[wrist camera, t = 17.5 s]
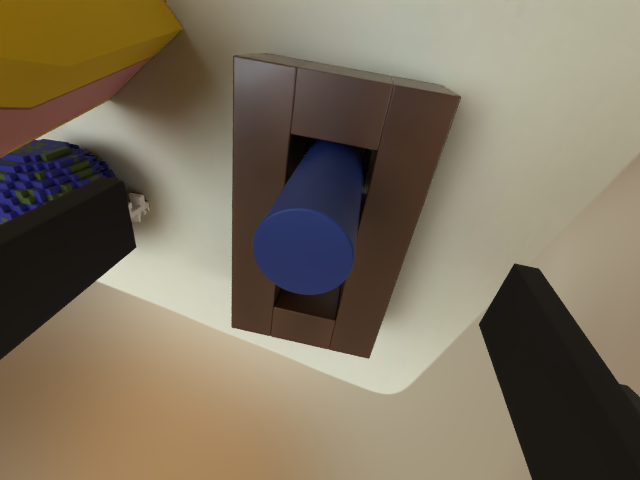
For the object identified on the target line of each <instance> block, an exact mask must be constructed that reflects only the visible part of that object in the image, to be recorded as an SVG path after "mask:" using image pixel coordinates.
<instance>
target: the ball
mask: <svg viewBox="0 0 640 480" xmlns="http://www.w3.org/2000/svg"><path fill="white" fill-rule="evenodd" d="M102 176H104V177H109V178H113V179H118V178H116V177H115V175H114V173H113V171H112V170H109V168H108V164H107V163H106V162H102V161H101V159H97V158H96V156H94V155H91V153H90V152H87V151H85V149H80V147H79V145H73V144H69V143H67V142H60V141H53V140H46V139H42V140H33V141H31V142H29V143H27V144H25V145H23V146H22V147H20V148H18V149H16V150H14V151H12V152H10V153H8V154H7V155H5V156H3V157H1V158H0V225H1V224H3V223H5V222H7V221H9V220H11V219H13V218H16V217H18V216H20V215H22V214H24V213H26V212H28V211H30V210H32V209H35V208H37V207H39V206H41V205H43V204H45V203H47V202H49V201H51V200H54V199H56V198H58V197H60V196H62V195H64V194H66V193H68V192H70V191H73V190H75V189H77V188H79V187H81V186H83V185H85V184H87V183H89V182H92V181H94V180H96V179H98V178H100V177H102ZM118 180H119V179H118ZM129 197H130V201H131V203H130V202H128V206H129V212H130V217H131V221H134V222H141V219H140V217H141V214H146V211H149V210H150V208H149V203H148V202H147V201H145V199H144V195H141V194H135V193H129ZM132 207H134V208H133V209H131V208H132Z"/></svg>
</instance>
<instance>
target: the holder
mask: <svg viewBox="0 0 640 480" xmlns="http://www.w3.org/2000/svg"><path fill="white" fill-rule="evenodd" d="M460 99H461V97H460V96H459V95H457V94H455V93H454V92H452V91H450V90H449V89H447V88H445V87H444V86H442V85H439V84H433V83H427V82H422V81H416V80H411V79H405V78H400V77H394V76H389V75H383V74H378V73H372V72H367V71H361V70H356V69H350V68H345V67H339V66H333V65H328V64H322V63H317V62H315V63H314V62H311V61H306V60H300V59H295V58H289V57H283V56H278V55H272V54H267V53H264V54H249V55H235V56H234V57H233V192H232V328H237V329H241V330H245V331H250V332H254V333H259V334H263V335H267V336H270V335H271V336H272V337H276V338H281V339H285V340H289V341H294V342H298V343H303V344H307V345H311V346H316V347H320V348H325V349H329V350H333V351H337V352H342V353H346V354H351V355H355V356H359V357H364V358H370V355H371V352H372V349H373V346H374V343H375V341H376V338H377V335H378V332H379V329H380V326H381V324H382V321H383V318H384V315H385V312H386V309H387V307H388V304H389V301H390V298H391V295H392V292H393V289H394V287H395V284H396V281H397V278H398V275H399V272H400V270H401V267H402V264H403V261H404V258H405V255H406V253H407V250H408V247H409V244H410V241H411V238H412V235H413V233H414V230H415V227H416V224H417V221H418V218H419V216H420V213H421V210H422V207H423V204H424V201H425V199H426V196H427V193H428V190H429V187H430V184H431V181H432V179H433V176H434V173H435V170H436V167H437V164H438V162H439V159H440V156H441V153H442V150H443V147H444V145H445V142H446V139H447V136H448V133H449V130H450V128H451V125H452V122H453V119H454V116H455V113H456V110H457V108H458V105H459V102H460ZM306 137H309V138H314V139H320V140H325V141H330V142H335V143H340V144H346V145H351V146H356V147H361V148H366V149H371V150H373V151H372V155H371V159H370V163H369V168H368V172H367V176H366V180H365V185H364V189H363V193H362V194H361V203H360V212H359V221H358V230H357V239H356V249H355V258H354V264H353V267H352V270H351V272H350V274H349V276H348V277H347V278H346V280H345V281H344V282H343V283H341V284H340V285H339V286H338V287H336V288H334V289H333V290H330V291H328V292H325V293H321V294H315V295H304V294H297V293H293V292H290V291H287V290H285V289H283V288H281V287H279V286H277V285H276V284H274V283H273V282H272V281H270V280H269V279H268V278H267V277H266V276H265V275H264V274H263V272H262V271H261V270H260V268H259V267H258V265H257V263H256V260H255V257H254V253H253V237H254V234H255V231H256V229H257V227H258V225H259V224H260V222H261V221H262V219H263V218H264V216H265V215H266V213H267V212H268V210H269V209H270V207H271V206H272V204H273V203H274V201H275V200H276V198H277V197H278V195H279V194H280V192H281V191H282V189H283V188H284V186H285V185H286V183H287V182H288V180H289V179H290V177H291V176H292V174H293V173H294V171H295V170H296V168H297V167H298V165H299V164H300V162H301V161H302V159H303V154H304V146H305V138H306Z"/></svg>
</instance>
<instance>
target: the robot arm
mask: <svg viewBox="0 0 640 480" xmlns="http://www.w3.org/2000/svg"><path fill="white" fill-rule="evenodd" d="M135 248H136V244H135V238H134V233H133V228H132V222H131V217H130V212H129V206H128V201H127V196H126V190H125V185H124V181H123V180H118V179H113V178H109V177H104V176H102V177H100V178H98V179H96V180H94V181H92V182H89V183H87V184H85V185H83V186H81V187H79V188H77V189H75V190H73V191H70V192H68V193H66V194H64V195H62V196H60V197H58V198H56V199H54V200H51V201H49V202H47V203H45V204H43V205H41V206H39V207H37V208H35V209H32V210H30V211H28V212H26V213H24V214H22V215H20V216H18V217H16V218H13V219H11V220H9V221H7V222H5V223H3V224H1V225H0V360H1V359H2V358H3V357H4V356H6V355H7V354H8V353H9V352H10V351H11V350H13V349H14V348H15V347H16V346H18V345H19V344H20V343H21V342H22V341H24V340H25V339H26V338H27V337H28V336H30V335H31V334H32V333H33V332H35V331H36V330H37V329H38V328H39V327H41V326H42V325H43V324H44V323H45V322H47V321H48V320H49V319H50V318H51V317H53V316H54V315H55V314H56V313H57V312H59V311H60V310H61V309H62V308H63V307H65V306H66V305H67V304H68V303H70V302H71V301H72V300H73V299H74V298H76V297H77V296H78V295H79V294H80V293H82V292H83V291H84V290H85V289H86V288H88V287H89V286H90V285H91V284H93V283H94V282H95V281H96V280H97V279H99V278H100V277H101V276H102V275H103V274H105V273H106V272H107V271H108V270H109V269H111V268H112V267H113V266H114V265H115V264H117V263H118V262H119V261H120V260H122V259H123V258H124V257H125V256H126V255H128V254H129V253H130V252H131V251H132V250H134V249H135ZM479 326H480V329H481V332H482V335H483V338H484V341H485V344H486V346H487V349H488V352H489V355H490V358H491V361H492V364H493V367H494V370H495V373H496V375H497V379H498V382H499V384H500V387H501V390H502V393H503V396H504V399H505V402H506V405H507V408H508V411H509V413H510V416H511V419H512V422H513V425H514V428H515V431H516V434H517V437H518V440H519V443H520V445H521V448H522V451H523V454H524V457H525V460H526V463H527V466H528V469H529V472H530V475H531V477H532V480H640V397H639V396H638V395H637V394H636V393H635V392H634V391H633V390H631V388H630V387H628V386H626V385H621V384H619V383H618V382H617V380H616V379H615V377H614V376H613V374H612V373H611V371H610V370H609V369H608V367H607V366H606V364H605V363H604V362H603V360H602V359H601V357H600V356H599V354H598V353H597V351H596V350H595V348H594V347H593V346H592V344H591V343H590V341H589V340H588V338H587V337H586V336H585V334H584V333H583V331H582V330H581V328H580V327H579V325H578V324H577V323H576V321H575V320H574V318H573V317H572V315H571V314H570V313H569V311H568V310H567V308H566V307H565V305H564V304H563V302H562V301H561V300H560V298H559V297H558V295H557V294H556V292H555V291H554V290H553V288H552V287H551V285H550V284H549V282H548V281H547V279H546V278H545V277H544V275H543V274H542V272H541V271H540V270H539V269H538V268H533V267H528V266H524V265H519V264H514V265H513V267H512V268H511V270H510V272H509V274H508V275H507V277H506V279H505V280H504V282H503V284H502V286H501V287H500V289H499V291H498V292H497V294H496V296H495V298H494V299H493V301H492V303H491V304H490V306H489V308H488V310H487V311H486V313H485V315H484V316H483V318H482V320H481V322H480V323H479Z"/></svg>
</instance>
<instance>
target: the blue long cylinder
mask: <svg viewBox="0 0 640 480" xmlns="http://www.w3.org/2000/svg"><path fill="white" fill-rule="evenodd" d="M365 156H366V154H365V148H361V147H356V146H351V145H346V144H340V143H335V142H330V141H325V140H320V139H316V140H315V141H314V143H313V144H312V146H311V147H310V149H309V150H308V152H307V153H306V155H305V156H304V158H303V159H302V161H301V162H300V164H299V165H298V167H297V168H296V170H295V171H294V173H293V174H292V176H291V177H290V179H289V180H288V182H287V183H286V185H285V186H284V188H283V189H282V191H281V192H280V194H279V195H278V197H277V198H276V200H275V201H274V203H273V204H272V206H271V207H270V209H269V210H268V212H267V213H266V215H265V216H264V218H263V219H262V221H261V222H260V224H259V225H258V227H257V229H256V231H255V234H254V237H253V253H254V257H255V260H256V263H257V265H258V267H259V268H260V270H261V271H262V272H263V274H264V275H265V276H266V277H267V278H268V279H269V280H270V281H272V282H273V283H274V284H276V285H277V286H279V287H281V288H283V289H285V290H287V291H290V292H293V293H297V294H304V295H315V294H321V293H325V292H328V291H330V290H333V289H334V288H336V287H338V286H339V285H340V284H341V283H343V282H344V281H345V280H346V278H347V277H348V276H349V274H350V272H351V270H352V267H353V264H354V258H355V249H356V239H357V230H358V221H359V212H360V203H361V194H362V185H363V176H364V167H365Z"/></svg>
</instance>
